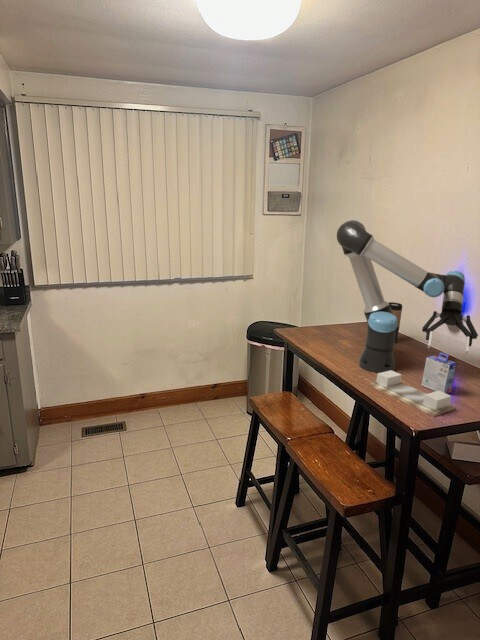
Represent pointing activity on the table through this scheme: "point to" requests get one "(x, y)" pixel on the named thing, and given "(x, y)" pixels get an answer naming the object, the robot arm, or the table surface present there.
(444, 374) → the ink cartridge box
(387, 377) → the mounted modules
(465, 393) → the table surface
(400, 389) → the rail board
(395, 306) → the black tan cylinder
